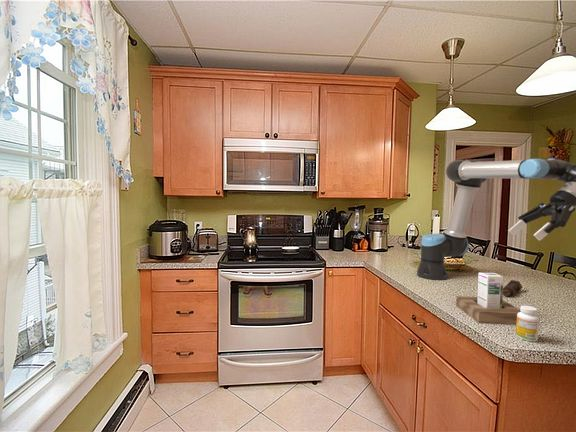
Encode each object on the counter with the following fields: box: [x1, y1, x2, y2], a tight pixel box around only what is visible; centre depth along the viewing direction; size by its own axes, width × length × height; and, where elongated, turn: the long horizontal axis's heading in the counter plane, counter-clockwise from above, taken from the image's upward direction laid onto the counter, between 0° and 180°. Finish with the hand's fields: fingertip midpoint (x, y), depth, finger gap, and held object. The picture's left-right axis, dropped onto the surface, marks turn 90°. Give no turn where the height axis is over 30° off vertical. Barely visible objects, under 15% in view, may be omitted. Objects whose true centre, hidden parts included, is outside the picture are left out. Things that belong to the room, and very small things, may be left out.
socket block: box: [455, 295, 521, 325], centre depth 109 cm, size 16×16×4 cm
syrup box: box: [477, 272, 504, 308], centre depth 109 cm, size 6×6×14 cm
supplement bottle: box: [515, 305, 540, 343], centre depth 91 cm, size 5×5×10 cm
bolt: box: [503, 279, 523, 297], centre depth 134 cm, size 6×5×15 cm
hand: (522, 235), depth 111 cm, fingers open, 13 cm apart
